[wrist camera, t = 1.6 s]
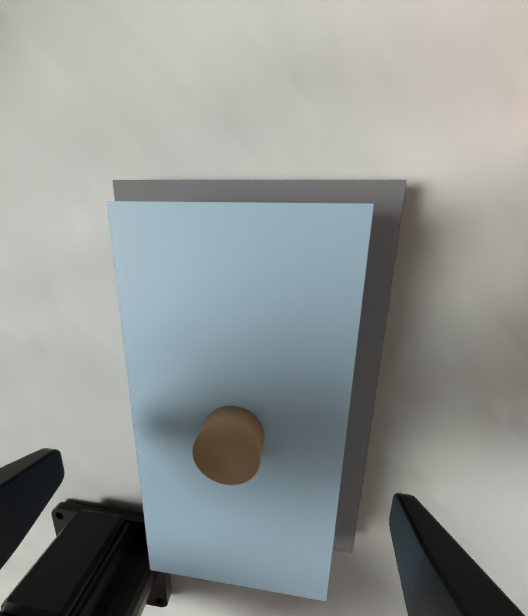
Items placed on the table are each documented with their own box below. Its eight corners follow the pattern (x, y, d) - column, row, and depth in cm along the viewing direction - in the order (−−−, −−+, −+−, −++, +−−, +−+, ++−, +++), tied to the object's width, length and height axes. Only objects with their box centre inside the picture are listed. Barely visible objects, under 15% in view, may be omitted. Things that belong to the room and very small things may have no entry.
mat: (348, 530, 14) (352, 552, 13) (160, 502, 15) (150, 521, 14) (395, 185, 9) (406, 179, 8) (129, 185, 11) (112, 180, 10)
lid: (321, 531, 12) (328, 639, 9) (177, 510, 13) (136, 602, 10) (353, 212, 9) (386, 198, 6) (154, 210, 10) (78, 195, 6)
